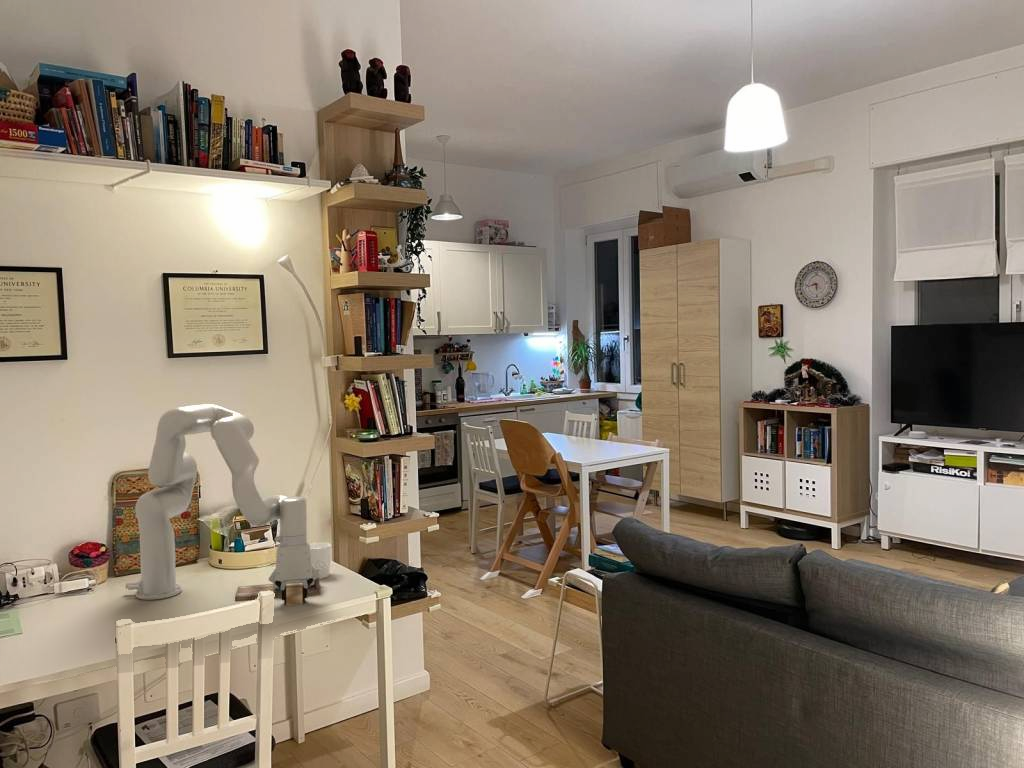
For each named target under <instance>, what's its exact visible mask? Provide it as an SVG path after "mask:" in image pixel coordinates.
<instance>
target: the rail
mask: <svg viewBox="0 0 1024 768" xmlns="http://www.w3.org/2000/svg"><path fill="white" fill-rule="evenodd" d="M317 572H318V573H319V569H318V570H317ZM268 590H270V591H273V592H274V593H275V598H274V599H276V598H282V590H281V589H280V591H276V588H273V583H267V584H253V585H243V586H242V585H241V586H238V587H237V590H236V593H235V595H234V602H235V601H236V602H237V601H249V600H251V601H252V600H256V599H255V598H257V597H258V593H259V592H260V591H268ZM311 595H320V579H319V577H318V578H317V579H316V580H314V585H311V588H310V589H308V588H307V596H311Z"/></svg>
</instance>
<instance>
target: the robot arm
mask: <svg viewBox="0 0 1024 768" xmlns="http://www.w3.org/2000/svg"><path fill="white" fill-rule="evenodd" d="M250 419H251V418H248V417H247V416H246V415H244V414H241V413H238V412H236V411H233V410H229V409H227V408H224V407H222V406H219V405H216V404H211V403H203V404H193V405H185V406H180V407H175V408H171V409H169V410H168V411H167V410H166V412H164V413H163V414H162V415H161V417H160V418H159V421H158V423H157V426H156V435H155V440H154V445H153V449H152V452H151V453H152V454H151V458H150V463H149V467H148V471H147V478H148V481H149V484H151V485H152V486H154V487H156V488H155V489H152V490H148V491H146V492H144V493H143V494H142V495H140V497H138V499H137V501H136V503H135V511H134V512H135V516H136V519H137V523H138V524H137V525H138V529H139V551H140V552H139V553H140V555H139V556H140V579H139V580H137V581H127V582H125V589H126V590H127V589H128V591H130V590H131V591H132V590H136V592H135V597H136V598H137V599H140V600H145V601H147V600H148V601H153V600H162V599H167V598H171V597H174V596H177V595H179V594H180V593H181V592H182V586H181V585H180V584H177V581H176V580H177V579H176V578H177V577H176V575H177V574H176V540H175V538H176V537H175V531H174V528H173V525H172V522H171V521H170V518H173V517H175V516H178V515H181V514H182V513H185V512H186V511H187V509H188V508H189V505H190V504H191V501H192V497H193V493H194V487H195V485H196V480H197V475H198V464H197V461H196V459H195V457H194V456H193V455H192V454H190V453H189V452H186V451H185V450H186V436H188V435H196V434H202V433H208V432H209V433H210V436H211V438H212V440H213V442H214V444H215V445H216V448H217V450H218V451H219V452H220V454H221V457H222V458H223V460H224V462H225V464H226V466H227V467H228V469H229V471H230V473H231V489H232V494H233V499H234V501H235V504H236V506H237V508H238V509H239V511H240V513H241V514H242V516H243V517H244V519H245V520H246V521H247V522H248V523H249V524H250V525H252V526H253V527H261V526H264V525H267V524H269V523H272V522H275V521H278V520H279V535H278V536H274V542H275V543H276V542H278V543H279V544H278V545H277V548H276V554H275V568H274V569H275V570H274V569H273V571H272V572H271V574H270V575H269V577H268V581H269V582H270V583H271V584H273V583H274V584H275V585H276V586H278V587H279V588H280V589H281V590H282V597H281V601H283V604H284V605H286V586H285V585H286V581H292V580H302V582H303V587H302V594H303V603H305V602H306V599H308V595H307V588H308V586H309V585H310V584H311V583H312V582H313V581H314V580H316V579H317V578H318V577H319V573H318V572H317V570H316V569H315V568H314V567H313V565H312V556H311V549H310V544H311V543H310V542H308V530H307V529H308V528H307V524H308V523H307V519H308V518H307V501H306V499H305V498H304V497H302V496H297V495H296V496H294V495H293V496H288V495H287V496H286V495H282V494H275V493H273V494H269V495H266V496H262V497H261V495H260V493H259V492H258V490H257V487H256V484H255V473H256V470H257V468H258V466H259V464H260V459H259V458H260V457H258V455H257V453H256V452H255V449H254V448H253V446H252V445H251V442H250V441H249V440H251V438H253V436H254V435H255V434H254V433H255V426H254V424H253V422H252V421H251V420H250ZM312 573H313V576H312ZM275 576H276V578H275ZM311 576H312V577H311ZM307 579H308V580H307ZM281 581H282V582H281Z"/></svg>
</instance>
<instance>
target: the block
mask: <svg viewBox="0 0 1024 768" xmlns="http://www.w3.org/2000/svg"><path fill="white" fill-rule="evenodd" d="M302 587H303V583H293V584H287V585H286V604H285V605H286V607H287V606H299V605H303V603H304V602H303V594H302Z"/></svg>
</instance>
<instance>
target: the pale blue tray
mask: <svg viewBox="0 0 1024 768" xmlns="http://www.w3.org/2000/svg"><path fill="white" fill-rule="evenodd" d="M313 567H314V566H313ZM274 570H275V568H273V571H274ZM312 576H313V573H312ZM312 576H311V577H312ZM275 578H276V576H275ZM307 580H308V579H307ZM281 582H282V581H281ZM293 583H303V582H302V580H292V581H286V585H287V584H293ZM272 584H273V588H276V591H280V588H279V587H278V586H276V585H275V584H274V583H272ZM286 585H285V586H286ZM311 585H314V581H313V582H312V583H311V584H310V585H309V586H308V589H310V588H311Z"/></svg>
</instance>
